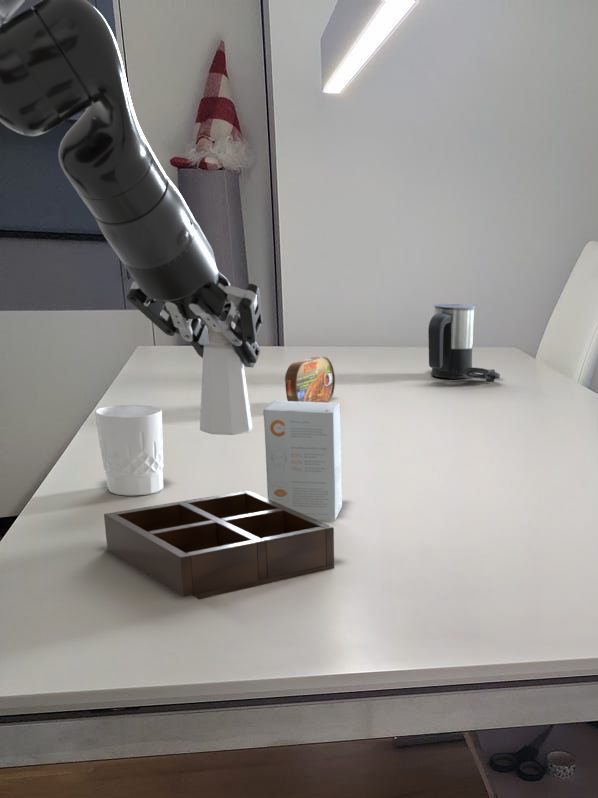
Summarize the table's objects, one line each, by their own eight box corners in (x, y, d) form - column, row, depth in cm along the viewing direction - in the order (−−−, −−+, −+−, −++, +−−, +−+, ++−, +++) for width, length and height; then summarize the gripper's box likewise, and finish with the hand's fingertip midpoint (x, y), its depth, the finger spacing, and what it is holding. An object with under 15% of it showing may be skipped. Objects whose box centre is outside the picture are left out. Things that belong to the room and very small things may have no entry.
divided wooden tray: (184, 602, 97) (180, 557, 95) (107, 555, 108) (103, 513, 107) (334, 568, 108) (334, 527, 106) (250, 528, 119) (248, 490, 117)
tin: (298, 414, 181) (297, 364, 177) (282, 412, 181) (281, 363, 178) (336, 400, 194) (336, 354, 190) (321, 398, 195) (320, 352, 191)
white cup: (157, 498, 128) (150, 418, 125) (94, 496, 128) (85, 415, 125) (175, 482, 136) (169, 406, 132) (115, 480, 136) (107, 403, 132)
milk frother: (435, 371, 230) (436, 302, 225) (505, 376, 229) (508, 306, 223) (423, 381, 217) (424, 308, 212) (497, 386, 216) (500, 312, 210)
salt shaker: (188, 431, 105) (181, 319, 101) (218, 422, 110) (213, 315, 106) (234, 437, 104) (229, 323, 100) (263, 428, 109) (259, 319, 104)
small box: (342, 507, 128) (341, 402, 123) (335, 522, 123) (333, 412, 117) (277, 504, 128) (273, 399, 123) (267, 519, 122) (262, 409, 117)
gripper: (239, 204, 90) (307, 335, 105) (101, 197, 94) (185, 324, 109) (210, 271, 87) (283, 395, 103) (69, 261, 91) (160, 382, 107)
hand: (232, 358), depth 106 cm, fingers closed on salt shaker, 4 cm apart
